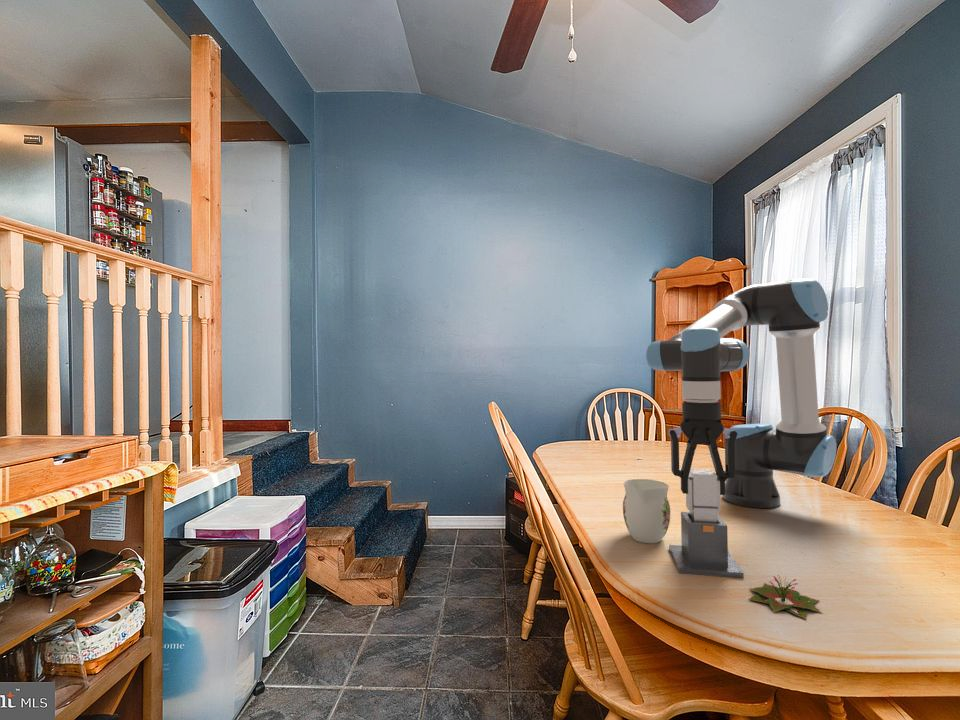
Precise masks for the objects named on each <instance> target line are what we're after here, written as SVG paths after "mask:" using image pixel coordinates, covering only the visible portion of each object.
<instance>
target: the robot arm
mask: <svg viewBox="0 0 960 720" xmlns="http://www.w3.org/2000/svg"><path fill="white" fill-rule="evenodd" d="M828 311H829V303H828V299H827V294H826V292H825V290H824V287H823V286H822V285H821V283H820V282H819V281H817V280H816V279H813V278H795V279H789V280H783V281H782V280H781V281H774V282H768V283H767V282H766V283H759V284H758V283H757V284H752V285H749V286H746V287H744V288H741V289H739V290H736V291H735V292H732V293H730V294H728V295H727V296H725V297H723V298H722V299H721V300H719V301H718V302H717V303H716V304H714V307H712V310H711V311H709V312H707V313H706V314H705V315H703V316H701V317H700V318H699V319H698V320H696V321H694V322H693V323H691V324H689V326H687V327H686V328H684V329H682V330H681V331H680V332H677V333H676V334H675V335H674V336H672V337H670V338H669V339H666V340H657V341H656V340H655V341H653V342H651V343H649V344H648V346H647V349H646V353H645V357H646V361H647V364H648V366H649V368H651V369H652V370H653V371H664V372H675V371H676V372H677V371H679V372H680V371H681V375H682V376H681V396H682V397H681V398H682V399H684V401H683V402H682V403H681V405H682V406H681V410H682V411H681V412H682V420H681V423H680V425H679V426H678V427H675V428H668V429H667V433H668V435H669V438H670V455H671V456H670V462H671V463H670V464H671V465H670V466H671V467H670V469H671V473H672V474H673V475H674V476H675V477H679V478H680V490H681V492H682V494H684V495H685V507H686V509H687V510H688V511H690V510H692V511H693V505H692V504H693V501H692V479H691V478H690V477H689V473H690V469H692V465H693V460H694V456H695V451H696V449H697V446H698V445H706V446H707V447H708V452H709V454H710V457H711V461H712V465H713V468H714V471H715V472H714V473H715V474H716V475H717V507H718V509H717V513H720V512H721V496H722V499H723V500H725V501H726V502H728V503H731V504H735V505H738V506H740V507H741V506H742V507H749V508H757V509H770V508H771V509H773V508H776V507H779V506H781V495H780V492H779V489H778V487H777V484H776V482H775V480H774V471H776V472H783V473H787V474H789V473H790V474H795V475H800V476H804V477H812V478H813V477H815V478H824V477H825V476H827V475H828V474H829V473H830V472H831V471H832V469H833V466H834V463H835V461H836V460H835V459H836V457H837V441H836V440H837V439H836V438H835V437H834V436H833V435H831V434H827V426H825V424H823V423H822V422H821V421H820V418H819V404H818V403H819V402H818V388H817V387H818V386H817V385H818V384H817V374H816V373H817V370H816V356H815V355H816V354H815V341H814V340H815V339H814V334H815V333H816V332H817V331H819V329H820V325H821V324H820V323H822V322H824V321H826V319H827V318H828V313H829V312H828ZM762 325H763V326H765V325H767V326H768V332H769V333H770V334H771V335H773V336H774V337H775V345H776V347H775V348H776V359H777V361H776V362H777V372H778V373H777V375H778V387H779V388H778V389H779V390H778V391H779V401H780V403H779V404H780V415H781V421H779V423H777V424H776V426H775V429H774V426H773V425H772V424H771V423H745V424H737V425H732V426H731V427H730V428H726V427H725V426H724V425H723V423H722V403H721V402H720V401H719V400H721V399H722V396H721V395H722V393H721V392H722V388H721V385H722V384H721V372H730V373H732V372H734V371H738V370H740V369H743V368H744V367H746V365H747V363H748V362H749V360H750V356H751V355H750V353H751V352H750V350H749V347H748V345H747V344H746V343H745V342H744V341H742V340H740V339H738V338H734V337H725V336H727V335H728V334H729V333H730V332H733V331H738V330H740V329H742V328H743V327H748V326H762ZM682 433H683V434H684V436H685V437H686V438H687V442H686V449H685V453H684V456H683V461H682V465H681V468H680V443H679V438H681V434H682ZM721 434H723V435H722V436H723V438H724V461H725V462H724V465H725V466H724V467H723V463H722V459H721V456H720V452H719V449H718V447H719V446H718V444H717V440H718V438H719V437H720V436H721Z"/></svg>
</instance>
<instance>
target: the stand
mask: <svg viewBox="0 0 960 720" xmlns="http://www.w3.org/2000/svg"><path fill="white" fill-rule="evenodd" d="M680 522H681V523H680V528H681V529H680V531H681V536H680V537H681V539H680V540H681V545H677V544H676V545H675V544H669V545H668V547H669V552H670V555H671V556H672V559H673V562H674V563H675V567H676V569H677V571H678V573H679V574H688V575H689V574H690V575H699V576H700V575H701V576H702V575H703V576H711V577H715V576H716V577H727V578H740V579H744V578H745V577H744V575H745V574H744V572H743V570H742V568H741V567H740V566H739V565H738V563H737V562H736V560H735V559H734V557H733V556H732V555H731V553H730V552H729V550H728V549H729V548H728V547H729V546H728V524H727V523H726V522H725V521H724V520H723V519H722V517H721V516H720V515H719V514H718V513H717V524H716V523H698V522H692V521H691V520H690V511H680Z"/></svg>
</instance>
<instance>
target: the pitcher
mask: <svg viewBox="0 0 960 720" xmlns="http://www.w3.org/2000/svg"><path fill="white" fill-rule="evenodd" d="M623 486H624V491H625V495H624V498H623V501H622V515H623V519H624V520H623V521H624V524H625V526H626V529H627V531H628V533H629V534H630V535H631V537H632V539H633V540H634V541H637V542H640V543H645V544H657V543H660V542H661V541H662V539H663V538H664V537H665V535H666V534H667V532H668V529H669V527H670V523H671V505H670V501H669V499H668V492H669V484H668V483H665V482H663V481H659V480H655V479H648V478H634V479H628V480H625V481H623Z"/></svg>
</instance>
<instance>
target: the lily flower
mask: <svg viewBox="0 0 960 720" xmlns="http://www.w3.org/2000/svg"><path fill="white" fill-rule="evenodd" d="M773 578H774V582H776V583H777V585H778V587H777V586H775V585H774V583H773V582H772V581H771V580H769V581H768V582H769V583H770V584H767V583H765V582H764V583H763V585H762V586H759V587H754V588H749V590H751V591H754V592H756V593H758V594H754V595H752V596H751V597H750V598H747V600H749V601H754V602H755V601H756V602H759V603H763V604H767V605H769V606H770V608H771V609H772V611H773V614H774V613H776V612H779V611H781V610H785V611H787V612H789V613H792V614H794V615H795V616H798V617H799V618H802V619H804V620H805V621H806V620H807V615H808V612H807V610H811V611H813V612H814V611H815V612H817V613H819V614H824V612H821V611H820V609H819V608H817V607H816V605H814V604H816V603H817V602H820V600H818V599H815V598H811V597H809V596H807V595H801V594H800V593H799V591H797V590H795V587H796V586H794V585H799V584H798V583H796V582H795V581H797V579H796V578H795V579H793V580H792V581H791V582H789V583H788V582H785V584H784V586H782V581H781V577H780V576H779V574H778V578H777V577H776V576H774V575H773ZM786 579H787V577H785V579H784V581H786ZM779 581H780V582H779ZM793 582H794V583H793ZM792 583H793V584H792ZM777 599H780V601H781V602H786V599H787V601H789V602H791V604H789V603H788V604H784V603H781V602H779V601H778V600H777ZM792 607H795V608H796V610H797V611H794V610H792V609H790V608H792ZM806 609H807V610H806Z"/></svg>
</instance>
